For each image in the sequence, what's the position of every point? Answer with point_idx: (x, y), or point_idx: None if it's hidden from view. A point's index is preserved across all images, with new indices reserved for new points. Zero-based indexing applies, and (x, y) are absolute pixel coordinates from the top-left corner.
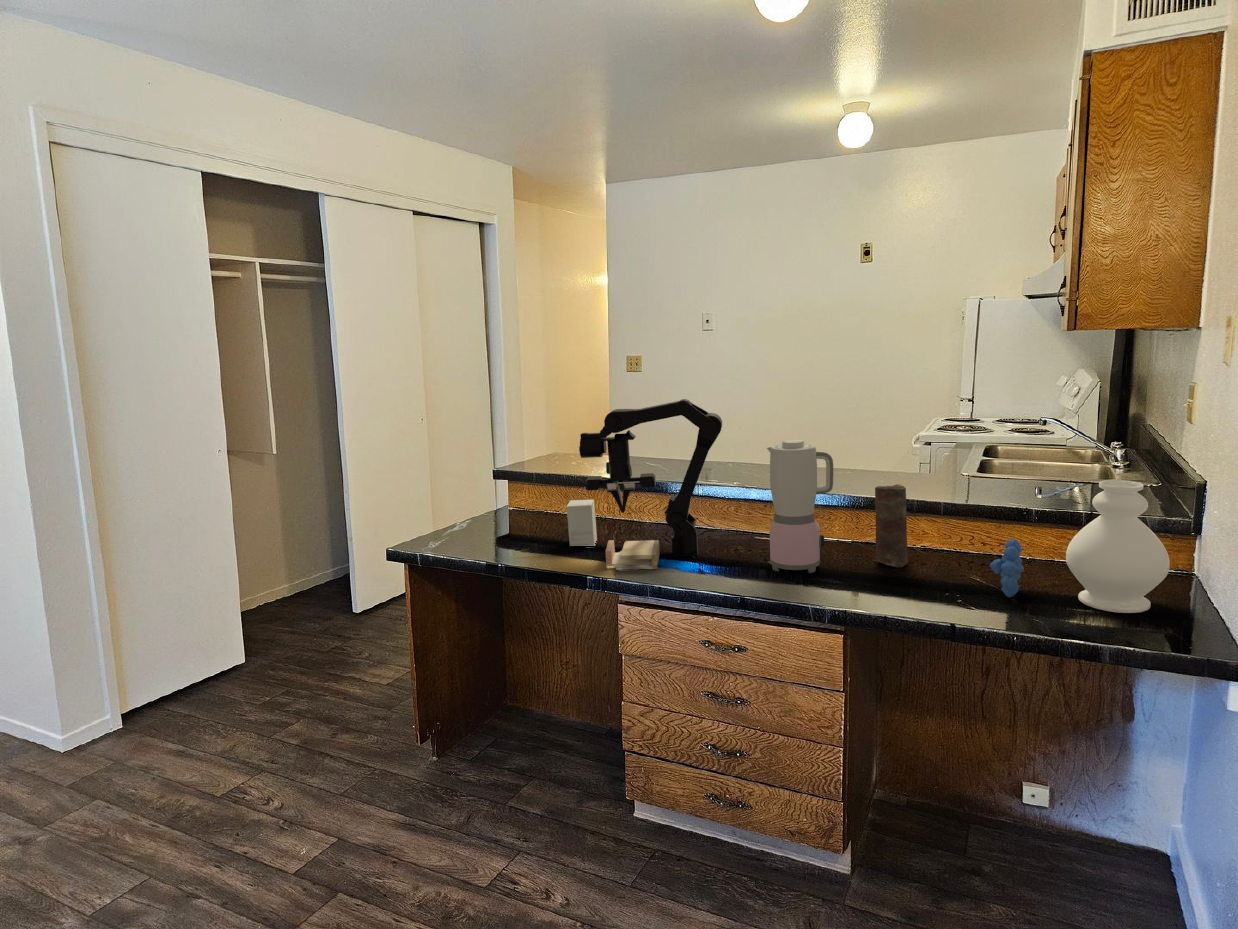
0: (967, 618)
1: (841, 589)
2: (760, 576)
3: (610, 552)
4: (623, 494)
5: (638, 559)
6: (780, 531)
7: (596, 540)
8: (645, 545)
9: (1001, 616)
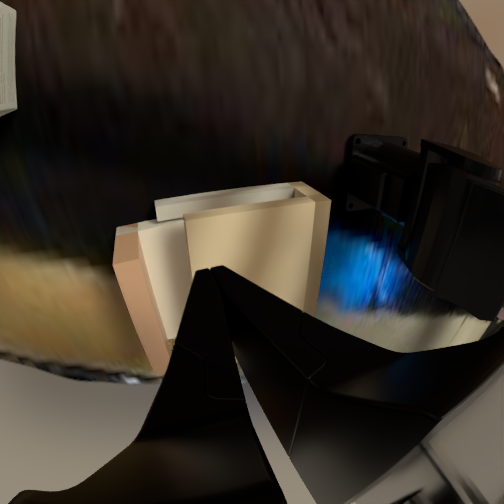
0: (476, 337)
1: (464, 313)
2: (433, 299)
3: None
4: (304, 475)
5: None
6: (500, 317)
7: (13, 34)
8: (281, 271)
9: (487, 327)
